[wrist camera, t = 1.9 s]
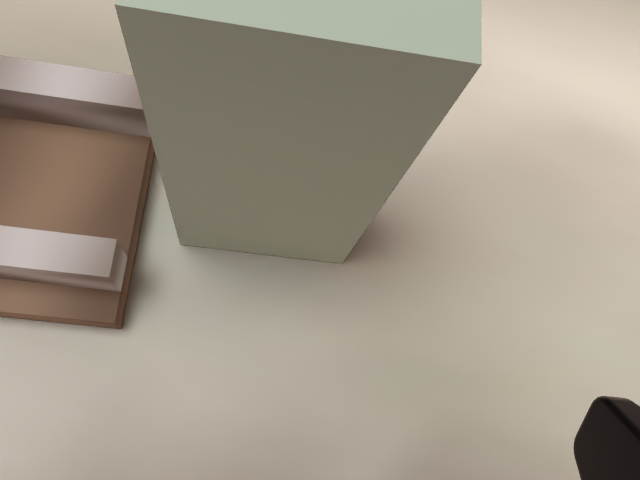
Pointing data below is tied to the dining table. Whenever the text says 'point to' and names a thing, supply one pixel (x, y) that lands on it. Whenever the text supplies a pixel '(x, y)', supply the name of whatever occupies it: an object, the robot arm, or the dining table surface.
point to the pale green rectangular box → (293, 110)
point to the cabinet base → (69, 191)
